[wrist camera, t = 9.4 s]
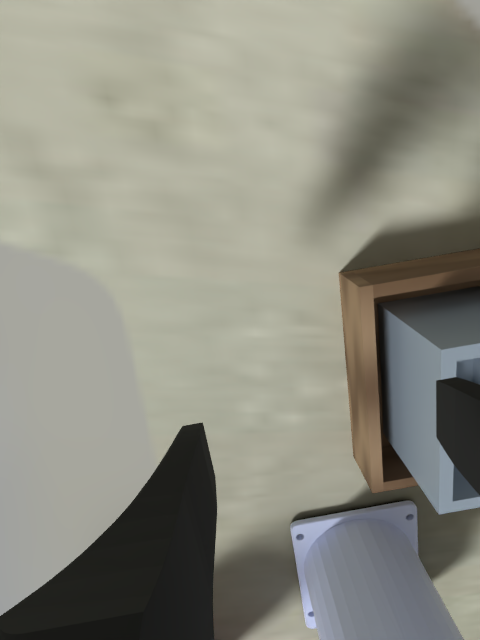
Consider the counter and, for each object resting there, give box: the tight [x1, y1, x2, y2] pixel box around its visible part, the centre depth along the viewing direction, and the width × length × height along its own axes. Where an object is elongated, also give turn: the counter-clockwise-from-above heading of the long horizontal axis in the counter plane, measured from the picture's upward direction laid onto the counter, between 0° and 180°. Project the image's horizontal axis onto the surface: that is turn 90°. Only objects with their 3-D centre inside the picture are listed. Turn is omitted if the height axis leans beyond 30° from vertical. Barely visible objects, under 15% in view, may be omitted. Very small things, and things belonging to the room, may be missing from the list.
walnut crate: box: [339, 248, 480, 493], centre depth 21 cm, size 11×9×4 cm
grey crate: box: [378, 286, 480, 514], centre depth 19 cm, size 8×5×6 cm
